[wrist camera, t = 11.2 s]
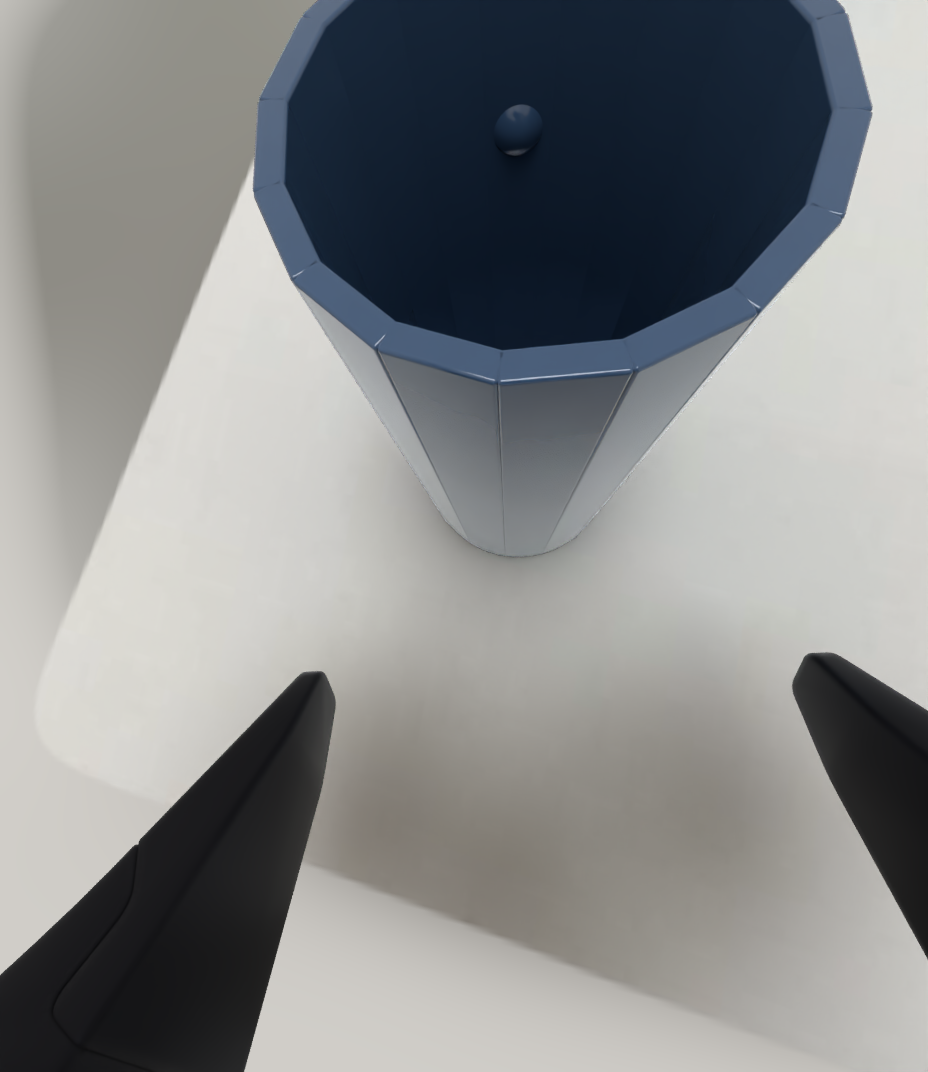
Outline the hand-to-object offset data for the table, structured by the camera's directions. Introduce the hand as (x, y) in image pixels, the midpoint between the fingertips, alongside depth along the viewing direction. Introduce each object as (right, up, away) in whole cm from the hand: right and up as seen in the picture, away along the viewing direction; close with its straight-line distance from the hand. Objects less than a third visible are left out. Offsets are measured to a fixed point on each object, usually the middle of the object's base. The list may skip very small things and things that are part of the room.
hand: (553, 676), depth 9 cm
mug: (0, +7, +10) cm, 12 cm away
